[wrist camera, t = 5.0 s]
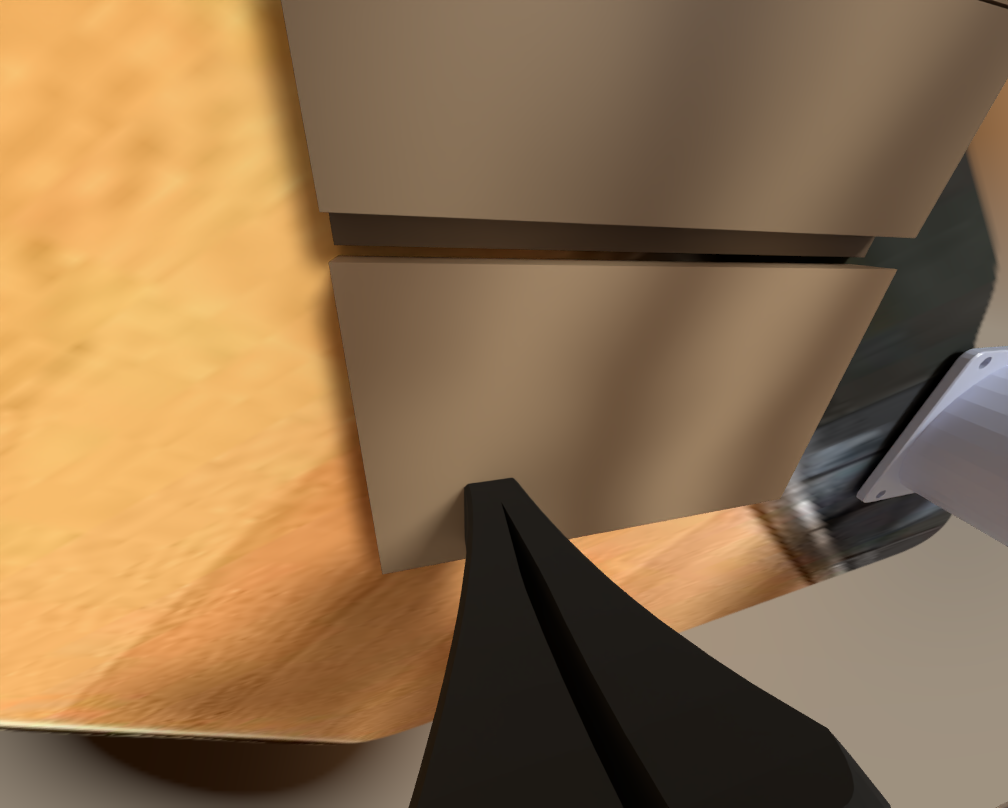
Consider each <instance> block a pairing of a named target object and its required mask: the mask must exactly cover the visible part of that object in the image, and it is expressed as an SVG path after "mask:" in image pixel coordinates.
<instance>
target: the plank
mask: <svg viewBox="0 0 1008 808" xmlns="http://www.w3.org/2000/svg"><path fill="white" fill-rule="evenodd" d="M329 267H330V273H331V279H332V284H333V290H334V296H335V302H336V308H337V313H338V319H339V325H340V331H341V337H342V342H343V348H344V354H345V360H346V366H347V371H348V377H349V383H350V389H351V395H352V400H353V406H354V412H355V418H356V424H357V429H358V435H359V441H360V447H361V453H362V458H363V464H364V470H365V476H366V482H367V487H368V493H369V499H370V505H371V510H372V516H373V522H374V528H375V534H376V539H377V545H378V551H379V557H380V563H381V568H382V574H387V573H393V572H398V571H403V570H408V569H414V568H419V567H424V566H429V565H435V564H440V563H445V562H451V561H456V560H461V559H466V545H465V529H464V487H465V486H466V485H467V484H470V483H477V482H484V481H491V480H499V479H506V478H514V479H515V480H516V481H517V482H518V483H519V484H520V486H521V487H522V488H523V489H524V490H525V492H526V493H527V494H528V495H529V497H530V498H531V499H532V500H533V501H534V502H535V504H536V505H537V506H538V507H539V508H540V509H541V510H542V512H543V513H544V514H545V515H546V516H547V517H548V518H549V519H550V521H551V522H552V523H553V524H554V525H555V526H556V527H557V528H558V529H559V530H560V531H561V532H562V533H563V534H564V535H565V536H566V538H567V539H572V538H577V537H582V536H587V535H593V534H598V533H603V532H609V531H614V530H619V529H624V528H630V527H635V526H640V525H645V524H651V523H656V522H661V521H666V520H672V519H677V518H682V517H687V516H693V515H698V514H703V513H709V512H714V511H719V510H724V509H730V508H735V507H740V506H745V505H751V504H756V503H761V502H766V501H772V500H777V499H780V498H781V496H782V494H783V492H784V490H785V488H786V486H787V484H788V482H789V480H790V478H791V476H792V474H793V472H794V471H795V469H796V467H797V465H798V463H799V461H800V459H801V457H802V455H803V453H804V451H805V449H806V447H807V445H808V443H809V441H810V439H811V437H812V435H813V433H814V431H815V429H816V427H817V425H818V424H819V422H820V420H821V418H822V416H823V414H824V412H825V410H826V408H827V406H828V404H829V402H830V400H831V398H832V396H833V394H834V392H835V390H836V388H837V386H838V384H839V382H840V380H841V378H842V377H843V375H844V373H845V371H846V369H847V367H848V365H849V363H850V361H851V359H852V357H853V355H854V353H855V351H856V349H857V347H858V345H859V343H860V341H861V339H862V337H863V335H864V333H865V331H866V330H867V328H868V326H869V324H870V322H871V320H872V318H873V316H874V314H875V312H876V310H877V308H878V306H879V304H880V302H881V300H882V298H883V296H884V294H885V292H886V290H887V288H888V286H889V285H890V283H891V281H892V279H893V277H894V275H895V273H896V271H897V269H889V268H880V267H871V266H862V265H853V264H814V263H754V262H695V261H635V260H575V259H515V258H456V257H396V256H337V257H336V258H334V259H333V260H331V261H330V262H329Z"/></svg>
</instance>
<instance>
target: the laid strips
mask: <svg viewBox="0 0 1008 808" xmlns="http://www.w3.org/2000/svg"><path fill="white" fill-rule="evenodd" d="M281 3H282V9H283V14H284V20H285V25H286V31H287V36H288V42H289V47H290V53H291V58H292V63H293V69H294V74H295V80H296V85H297V91H298V96H299V102H300V107H301V113H302V118H303V124H304V129H305V135H306V140H307V146H308V151H309V157H310V162H311V168H312V173H313V179H314V184H315V190H316V195H317V201H318V206H319V212H329V217H330V223H331V229H332V235H333V241H334V245H360V246H403V247H446V248H488V249H531V250H574V251H617V252H659V253H702V254H745V255H787V256H830V257H865V255H866V253H867V251H868V249H869V247H870V245H871V243H872V242H873V240H874V238H875V236H881V237H904V238H916V236H917V234H918V233H919V231H920V229H921V227H922V226H923V224H924V222H925V220H926V219H927V217H928V215H929V214H930V212H931V210H932V208H933V207H934V205H935V203H936V201H937V200H938V198H939V196H940V194H941V193H942V191H943V189H944V188H945V186H946V184H947V182H948V181H949V179H950V177H951V175H952V174H953V172H954V170H955V168H956V167H957V165H958V163H959V162H960V160H961V158H962V156H963V155H964V153H965V151H966V149H967V148H968V146H969V144H970V142H971V141H972V139H973V137H974V136H975V134H976V132H977V130H978V129H979V127H980V125H981V123H982V122H983V120H984V118H985V116H986V115H987V113H988V111H989V110H990V108H991V106H992V104H993V103H994V101H995V99H996V97H997V96H998V94H999V92H1000V90H1001V89H1002V87H1003V85H1004V84H1005V82H1006V80H1007V78H1008V0H281Z"/></svg>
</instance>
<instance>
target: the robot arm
mask: <svg viewBox="0 0 1008 808" xmlns="http://www.w3.org/2000/svg"><path fill="white" fill-rule="evenodd" d="M911 493H917V494H919V495H920V496H922V497H924V498H925V499H927V500H929V501H930V502H932V503H934V504H936V505H937V506H939V507H941V508H942V509H944V510H946V511H948V512H949V513H951V514H953V515H954V516H956V517H958V518H959V519H961V520H963V521H965V522H966V523H968V524H970V525H971V526H973V527H975V528H977V529H978V530H980V531H982V532H983V533H985V534H987V535H989V536H990V537H992V538H994V539H995V540H997V541H999V542H1001V543H1002V544H1004V545H1006V546H1007V547H1008V346H1002V347H988V348H974V349H970V350H967V351H966V352H964V353H963V354H962V355H960V356H959V357H958V359H957V360H956V361H955V362H954V364H953V365H952V366H951V368H950V369H949V370H948V372H947V373H946V374H945V376H944V377H943V378H942V380H941V381H940V382H939V384H938V385H937V386H936V388H935V389H934V390H933V392H932V393H931V394H930V396H929V397H928V398H927V400H926V401H925V402H924V404H923V405H922V406H921V408H920V409H919V411H918V412H917V413H916V415H915V416H914V417H913V419H912V420H911V421H910V423H909V424H908V425H907V427H906V428H905V429H904V431H903V432H902V433H901V435H900V436H899V437H898V439H897V440H896V441H895V443H894V444H893V445H892V447H891V448H890V449H889V451H888V452H887V453H886V455H885V456H884V457H883V459H882V460H881V461H880V463H879V464H878V465H877V467H876V468H875V469H874V471H873V472H872V473H871V475H870V476H869V477H868V479H867V480H866V482H865V483H864V484H863V486H862V487H861V488H860V490H859V491H858V492H857V498H858V499H860V500H861V501H863V502H864V503H867V502H873V501H878V500H883V499H887V498H892V497H897V496H902V495H907V494H911ZM464 529H465V545H466V562H465V569H464V576H463V584H462V591H461V597H460V603H459V609H458V615H457V620H456V625H455V630H454V635H453V640H452V645H451V649H450V654H449V658H448V662H447V667H446V671H445V676H444V680H443V684H442V688H441V692H440V696H439V700H438V704H437V708H436V712H435V716H434V719H433V723H432V727H431V730H430V734H429V738H428V741H427V745H426V749H425V753H424V756H423V760H422V763H421V767H420V771H419V774H418V778H417V781H416V785H415V788H414V792H413V795H412V798H411V801H410V805H409V808H891V807H890V804H889V803H888V802H887V801H886V799H885V798H884V797H883V795H882V794H881V793H880V792H879V790H878V789H877V788H876V787H875V786H874V784H873V783H872V782H871V780H870V779H869V778H868V777H867V775H866V774H865V773H864V772H863V770H862V769H861V768H860V767H859V765H858V764H857V763H856V761H855V760H854V759H853V758H852V757H851V755H850V754H849V753H848V752H847V750H846V749H845V748H844V747H843V746H842V745H841V743H840V742H839V741H838V740H837V739H836V738H835V736H834V735H833V734H832V733H831V732H830V731H829V729H828V728H826V727H824V726H823V725H821V724H819V723H818V722H816V721H814V720H813V719H811V718H809V717H808V716H806V715H804V714H802V713H801V712H799V711H797V710H796V709H794V708H792V707H791V706H789V705H787V704H785V703H784V702H782V701H781V700H779V699H777V698H776V697H774V696H772V695H770V694H769V693H767V692H765V691H764V690H762V689H760V688H759V687H757V686H755V685H754V684H752V683H751V682H749V681H747V680H746V679H745V678H743V677H741V676H740V675H738V674H737V673H735V672H734V671H732V670H731V669H729V668H728V667H726V666H725V665H723V664H722V663H720V662H719V661H717V660H716V659H714V658H713V657H711V656H709V655H708V654H707V653H705V652H704V651H702V650H701V649H700V648H698V647H697V646H696V645H694V644H693V643H691V642H690V641H689V640H687V639H686V638H684V637H683V636H682V635H680V634H679V633H677V632H676V631H675V630H673V629H672V628H670V627H669V626H668V625H666V624H665V623H663V622H662V621H661V620H659V619H658V618H657V617H656V616H654V615H653V614H652V613H650V612H649V611H648V610H647V609H645V608H644V607H643V606H642V605H640V604H639V603H638V602H637V601H635V600H634V599H633V598H632V597H630V596H629V595H628V594H627V593H626V592H624V591H623V590H622V589H621V588H620V587H618V586H617V585H616V584H615V583H614V582H613V581H612V580H610V579H609V578H608V577H607V576H606V575H605V574H604V573H603V572H601V571H600V570H599V569H598V568H597V567H596V566H595V565H594V564H593V563H592V562H591V561H590V560H589V559H588V558H587V557H586V556H584V555H583V554H582V553H581V552H580V551H579V550H578V549H577V548H576V547H575V546H574V545H573V544H572V543H571V542H570V541H569V540H568V539H567V538H566V536H565V535H564V534H563V533H562V532H561V531H560V530H559V529H558V528H557V527H556V526H555V525H554V524H553V523H552V522H551V521H550V519H549V518H548V517H547V516H546V515H545V514H544V513H543V512H542V510H541V509H540V508H539V507H538V506H537V505H536V504H535V502H534V501H533V500H532V499H531V498H530V497H529V495H528V494H527V493H526V492H525V490H524V489H523V488H522V487H521V486H520V484H519V483H518V482H517V481H516V480H515V479H514V478H506V479H499V480H491V481H484V482H477V483H470V484H467V485H466V486H465V487H464ZM996 808H1008V802H1006V803H1004V804H1001V805H1000V806H998V807H996Z"/></svg>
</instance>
